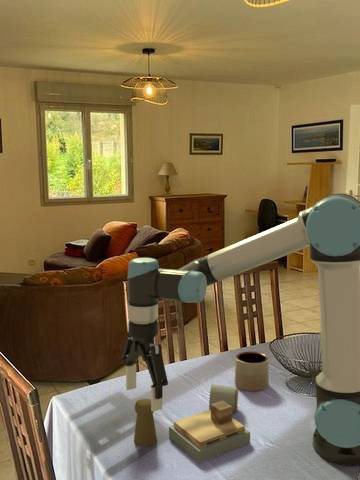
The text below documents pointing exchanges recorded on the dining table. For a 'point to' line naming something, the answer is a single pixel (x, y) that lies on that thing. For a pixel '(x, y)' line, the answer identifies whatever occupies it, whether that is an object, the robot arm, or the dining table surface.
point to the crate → (221, 412)
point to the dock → (209, 444)
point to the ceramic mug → (224, 395)
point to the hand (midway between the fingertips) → (143, 398)
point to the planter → (251, 371)
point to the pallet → (206, 428)
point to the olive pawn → (144, 424)
